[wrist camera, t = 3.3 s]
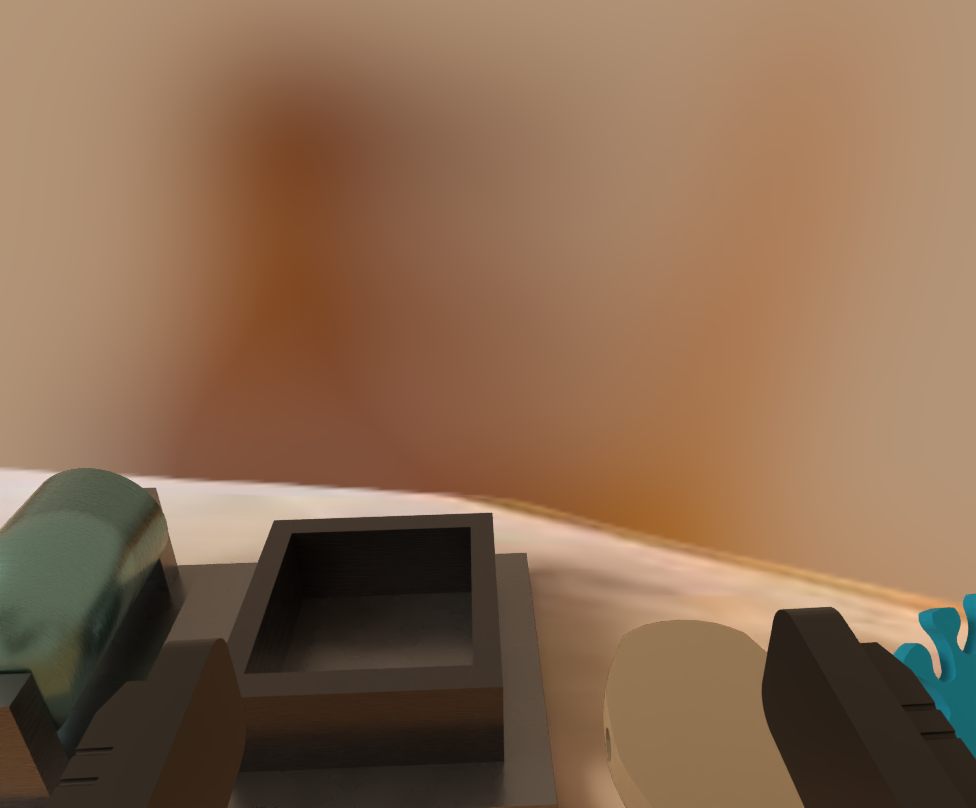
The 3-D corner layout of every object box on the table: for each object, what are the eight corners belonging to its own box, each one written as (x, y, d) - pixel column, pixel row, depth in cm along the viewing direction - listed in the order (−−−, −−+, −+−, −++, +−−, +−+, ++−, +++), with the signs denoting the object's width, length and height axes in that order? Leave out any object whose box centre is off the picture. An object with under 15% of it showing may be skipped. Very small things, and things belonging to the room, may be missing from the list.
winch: (556, 827, 30) (562, 650, 26) (-128, 857, 30) (-246, 682, 25) (526, 572, 44) (527, 429, 40) (63, 589, 44) (10, 446, 39)
